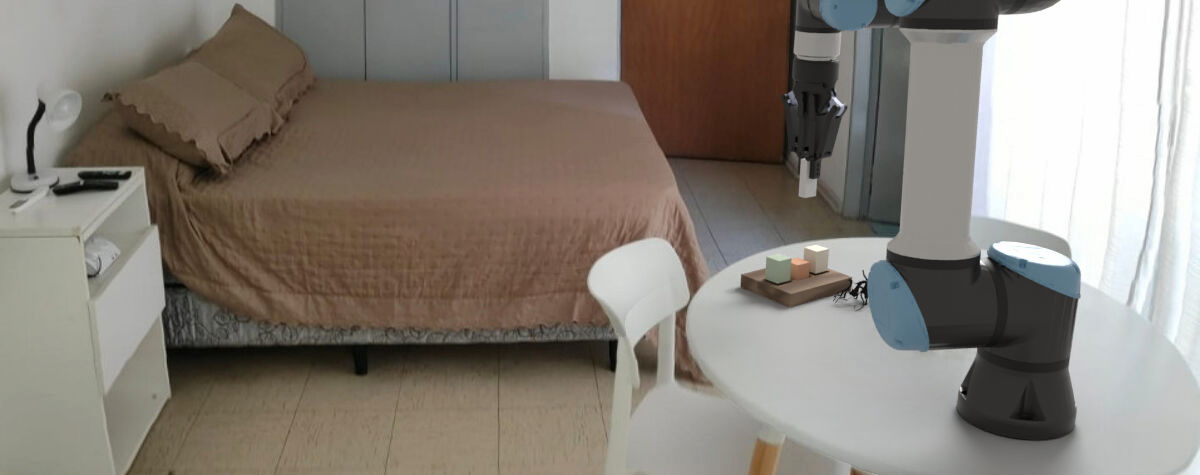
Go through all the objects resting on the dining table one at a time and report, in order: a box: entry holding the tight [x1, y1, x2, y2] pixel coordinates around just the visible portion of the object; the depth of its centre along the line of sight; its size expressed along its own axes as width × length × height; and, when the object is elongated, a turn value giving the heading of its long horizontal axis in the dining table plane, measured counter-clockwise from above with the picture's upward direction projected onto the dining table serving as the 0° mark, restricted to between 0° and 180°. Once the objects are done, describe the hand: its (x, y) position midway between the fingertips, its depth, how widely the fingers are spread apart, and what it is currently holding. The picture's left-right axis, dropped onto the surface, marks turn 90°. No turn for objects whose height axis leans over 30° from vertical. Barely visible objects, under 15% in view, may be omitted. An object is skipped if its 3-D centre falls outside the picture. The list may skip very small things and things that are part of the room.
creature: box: [832, 269, 868, 312], centre depth 200 cm, size 8×5×8 cm
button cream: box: [803, 244, 830, 274], centre depth 208 cm, size 3×3×4 cm
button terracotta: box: [790, 257, 810, 281], centre depth 206 cm, size 3×3×4 cm
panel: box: [740, 267, 853, 308], centre depth 206 cm, size 12×15×2 cm
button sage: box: [765, 253, 793, 284], centre depth 203 cm, size 3×3×4 cm
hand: (807, 195), depth 201 cm, fingers closed
